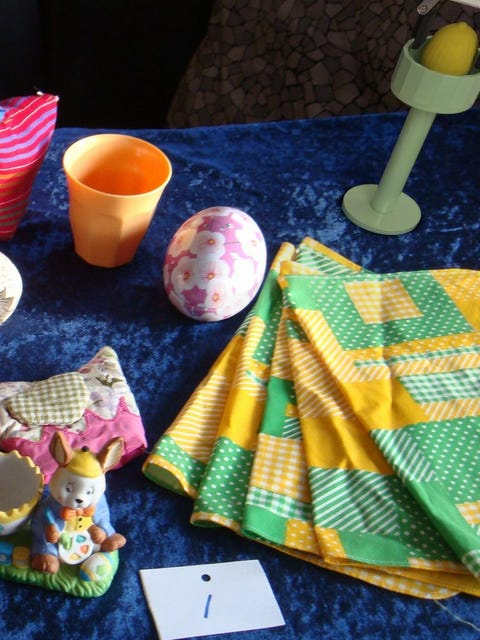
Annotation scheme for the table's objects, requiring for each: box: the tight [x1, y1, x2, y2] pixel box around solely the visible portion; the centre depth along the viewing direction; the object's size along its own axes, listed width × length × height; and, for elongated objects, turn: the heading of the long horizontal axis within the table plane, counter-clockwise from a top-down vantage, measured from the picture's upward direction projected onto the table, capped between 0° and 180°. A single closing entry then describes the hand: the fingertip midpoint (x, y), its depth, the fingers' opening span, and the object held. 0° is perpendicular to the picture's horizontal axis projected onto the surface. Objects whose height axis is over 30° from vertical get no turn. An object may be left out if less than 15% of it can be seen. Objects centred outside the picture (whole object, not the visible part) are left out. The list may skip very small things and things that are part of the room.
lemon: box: [421, 21, 479, 76], centre depth 96 cm, size 6×6×8 cm
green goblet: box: [341, 35, 480, 236], centre depth 105 cm, size 10×10×23 cm
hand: (449, 53), depth 96 cm, fingers open, 6 cm apart
